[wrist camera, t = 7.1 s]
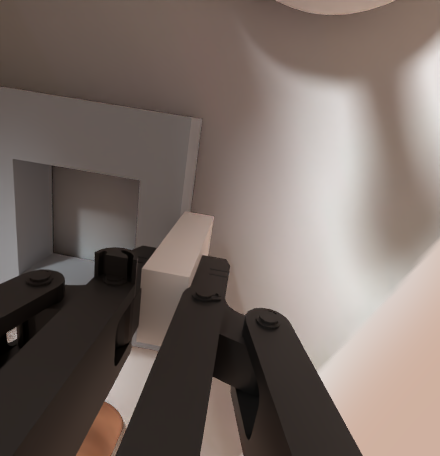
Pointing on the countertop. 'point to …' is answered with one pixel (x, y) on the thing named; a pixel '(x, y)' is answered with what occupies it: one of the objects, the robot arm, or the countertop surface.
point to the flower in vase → (334, 6)
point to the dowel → (102, 433)
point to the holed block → (91, 162)
